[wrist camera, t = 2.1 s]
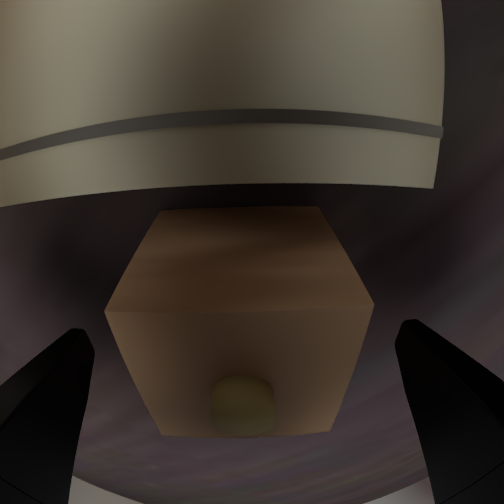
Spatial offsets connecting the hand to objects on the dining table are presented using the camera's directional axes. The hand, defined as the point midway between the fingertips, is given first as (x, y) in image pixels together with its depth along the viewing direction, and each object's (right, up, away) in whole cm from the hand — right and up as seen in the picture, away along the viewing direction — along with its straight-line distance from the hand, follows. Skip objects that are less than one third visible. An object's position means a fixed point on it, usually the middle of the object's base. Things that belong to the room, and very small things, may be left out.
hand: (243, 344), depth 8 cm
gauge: (0, +2, +3) cm, 4 cm away
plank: (-6, +9, -2) cm, 11 cm away
